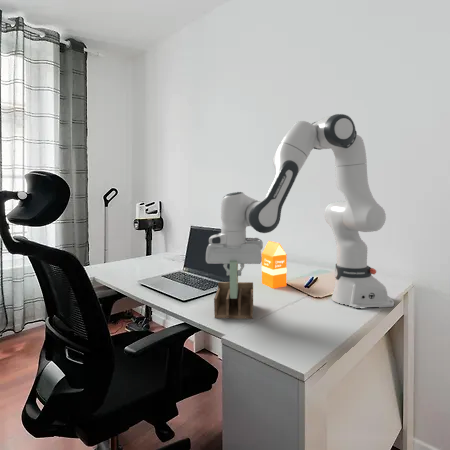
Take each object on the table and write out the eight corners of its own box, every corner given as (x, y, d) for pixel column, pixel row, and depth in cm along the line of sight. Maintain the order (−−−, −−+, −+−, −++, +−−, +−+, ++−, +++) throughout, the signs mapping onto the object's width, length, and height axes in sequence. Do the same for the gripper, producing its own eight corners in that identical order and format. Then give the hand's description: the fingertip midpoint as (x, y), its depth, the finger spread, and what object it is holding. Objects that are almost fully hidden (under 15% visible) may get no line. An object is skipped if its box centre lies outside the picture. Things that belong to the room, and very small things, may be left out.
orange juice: (272, 288, 146) (272, 244, 144) (261, 283, 154) (261, 241, 151) (286, 285, 150) (287, 242, 147) (275, 280, 158) (275, 239, 155)
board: (238, 290, 125) (237, 256, 123) (236, 298, 116) (236, 262, 114) (231, 290, 125) (231, 256, 123) (230, 298, 116) (229, 262, 114)
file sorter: (253, 304, 127) (253, 282, 126) (252, 318, 114) (252, 293, 113) (218, 304, 128) (218, 282, 127) (214, 318, 116) (213, 293, 114)
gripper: (262, 236, 120) (262, 273, 122) (207, 236, 122) (207, 272, 124) (262, 239, 114) (262, 278, 115) (204, 239, 116) (205, 277, 117)
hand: (234, 275), depth 120 cm, fingers closed on board, 2 cm apart
